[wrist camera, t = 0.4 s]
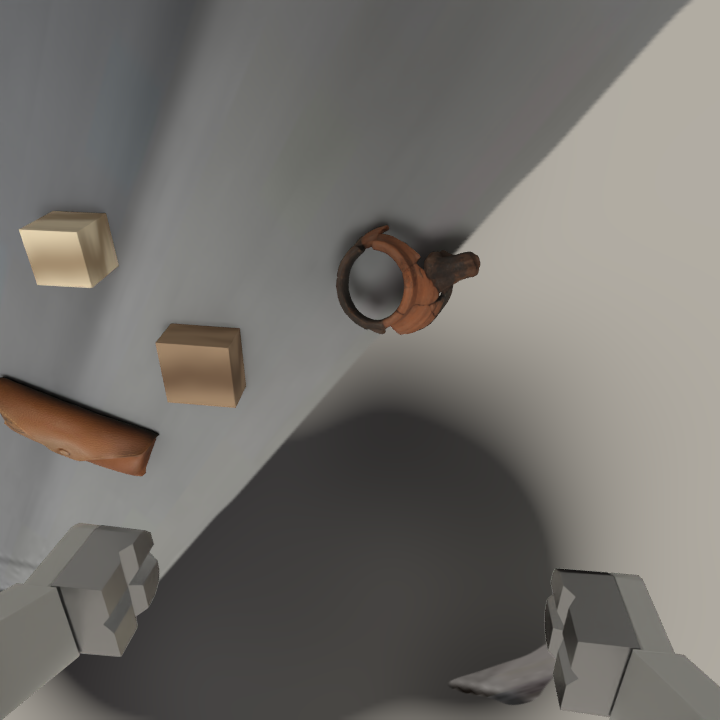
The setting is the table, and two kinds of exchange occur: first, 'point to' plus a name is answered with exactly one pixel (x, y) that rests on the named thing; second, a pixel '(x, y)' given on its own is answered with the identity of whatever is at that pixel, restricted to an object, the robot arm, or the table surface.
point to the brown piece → (407, 282)
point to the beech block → (70, 248)
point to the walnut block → (202, 365)
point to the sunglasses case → (75, 430)
